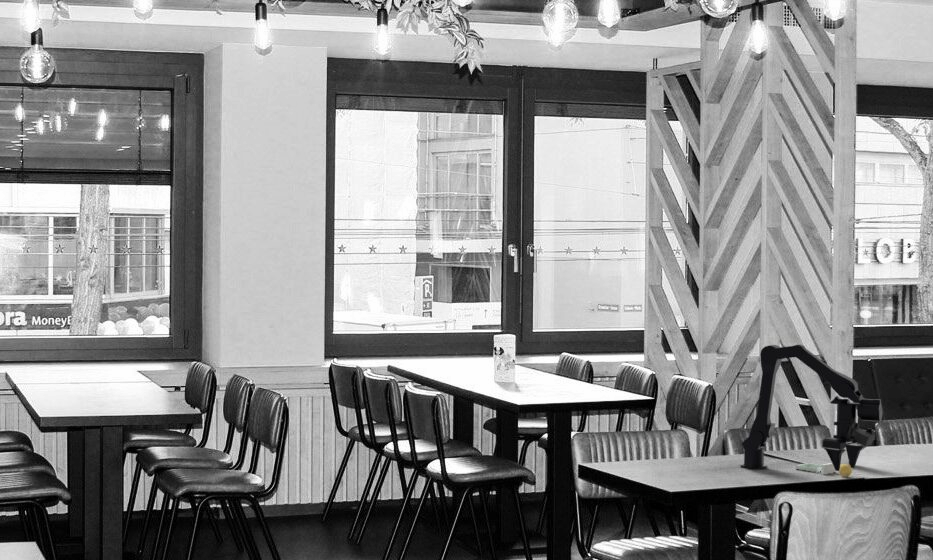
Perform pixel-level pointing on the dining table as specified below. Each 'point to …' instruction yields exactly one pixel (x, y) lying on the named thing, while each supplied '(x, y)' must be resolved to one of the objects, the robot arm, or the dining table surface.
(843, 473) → the ball
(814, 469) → the dish
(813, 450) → the dining table surface
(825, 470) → the wall
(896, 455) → the dining table surface
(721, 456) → the dining table surface
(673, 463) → the dining table surface
